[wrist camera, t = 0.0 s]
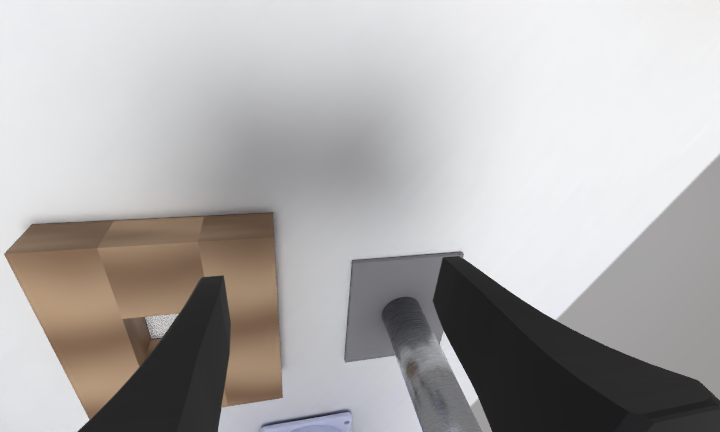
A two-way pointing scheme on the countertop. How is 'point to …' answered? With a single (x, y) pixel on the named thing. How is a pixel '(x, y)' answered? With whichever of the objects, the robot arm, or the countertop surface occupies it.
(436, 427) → the steel peg
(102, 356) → the walnut hole block
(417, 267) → the rubber mat
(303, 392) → the countertop surface
